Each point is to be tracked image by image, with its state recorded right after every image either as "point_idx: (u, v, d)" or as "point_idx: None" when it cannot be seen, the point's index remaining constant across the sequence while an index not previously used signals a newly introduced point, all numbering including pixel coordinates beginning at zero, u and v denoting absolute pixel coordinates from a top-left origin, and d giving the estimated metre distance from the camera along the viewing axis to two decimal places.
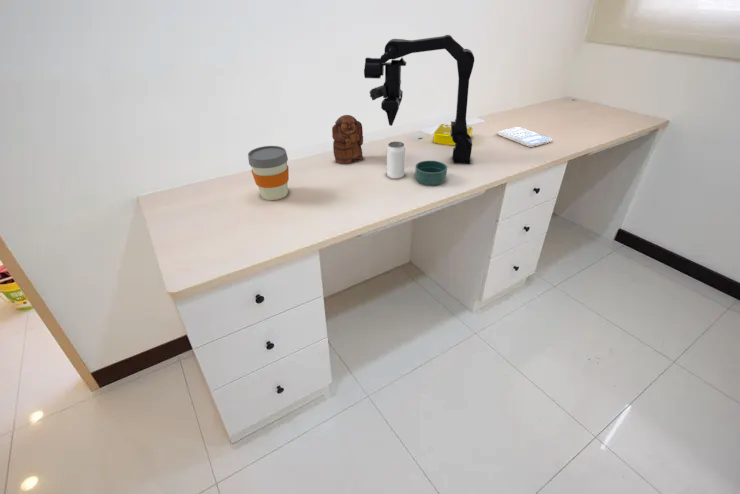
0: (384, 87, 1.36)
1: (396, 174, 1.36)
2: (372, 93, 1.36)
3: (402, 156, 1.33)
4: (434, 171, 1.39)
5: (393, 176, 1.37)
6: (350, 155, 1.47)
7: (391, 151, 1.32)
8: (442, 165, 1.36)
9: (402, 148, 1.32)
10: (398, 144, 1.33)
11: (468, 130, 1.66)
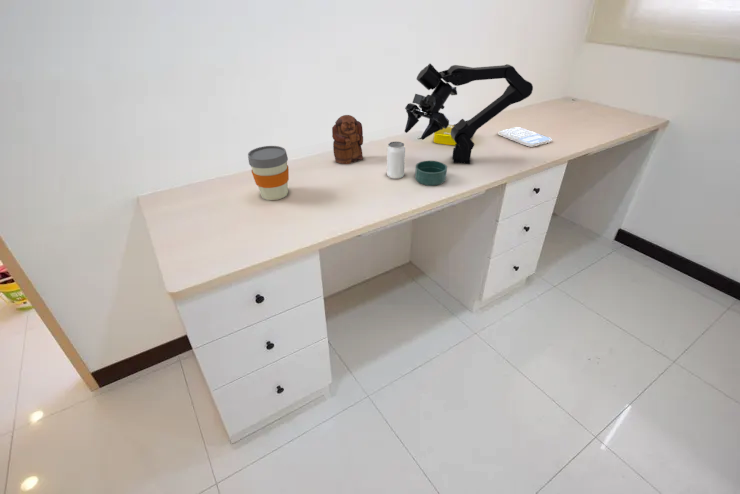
0: (434, 101, 1.31)
1: (396, 174, 1.36)
2: (429, 99, 1.27)
3: (402, 156, 1.33)
4: (434, 171, 1.39)
5: (393, 176, 1.37)
6: (350, 155, 1.47)
7: (391, 151, 1.32)
8: (442, 165, 1.36)
9: (402, 148, 1.32)
10: (398, 144, 1.33)
11: None
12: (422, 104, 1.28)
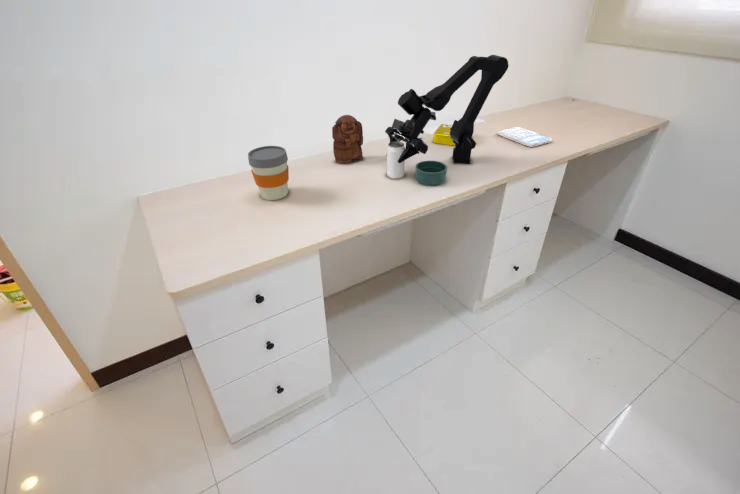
0: (414, 126, 1.30)
1: (396, 174, 1.36)
2: (408, 125, 1.26)
3: None
4: (434, 171, 1.39)
5: (393, 176, 1.37)
6: (350, 155, 1.47)
7: (391, 151, 1.32)
8: (442, 165, 1.36)
9: (402, 148, 1.32)
10: (398, 144, 1.33)
11: None
12: (401, 129, 1.28)
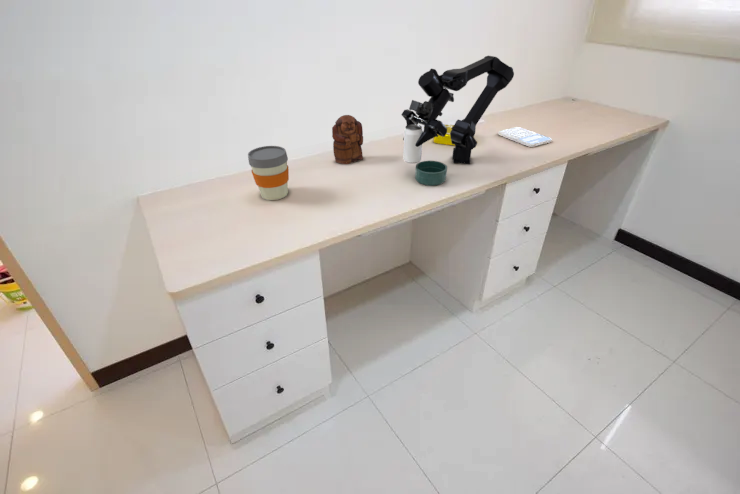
0: (432, 108, 1.25)
1: (413, 159, 1.31)
2: (426, 106, 1.21)
3: None
4: (434, 171, 1.39)
5: (410, 161, 1.32)
6: (350, 155, 1.47)
7: (408, 134, 1.26)
8: (442, 165, 1.36)
9: (420, 131, 1.26)
10: (415, 127, 1.28)
11: None
12: (419, 111, 1.23)
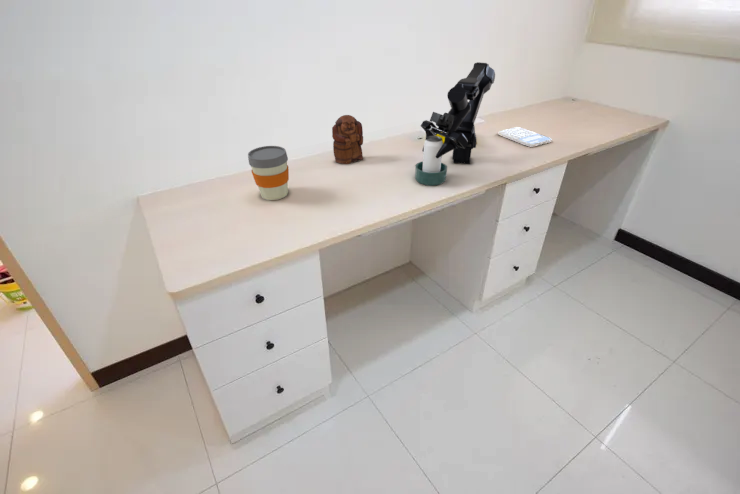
0: (453, 120, 1.25)
1: (433, 170, 1.31)
2: (448, 118, 1.21)
3: None
4: None
5: (429, 172, 1.32)
6: (350, 155, 1.47)
7: (428, 145, 1.26)
8: (442, 165, 1.36)
9: (440, 142, 1.26)
10: (436, 138, 1.28)
11: None
12: (440, 123, 1.23)
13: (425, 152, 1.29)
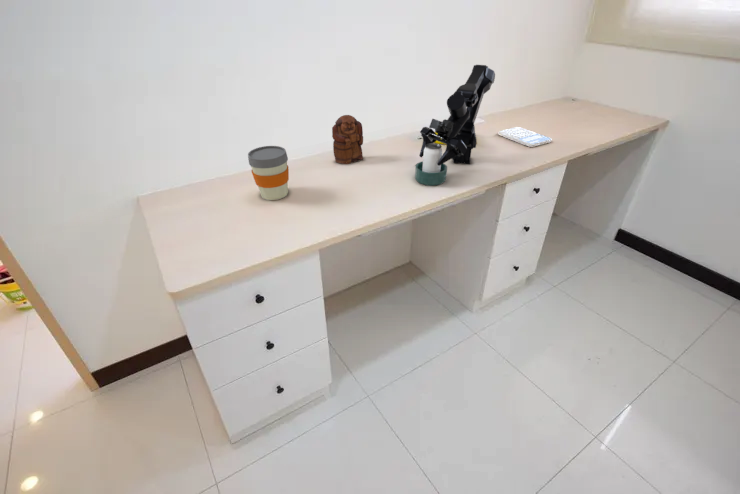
0: (452, 127, 1.26)
1: None
2: (447, 125, 1.22)
3: (439, 158, 1.29)
4: None
5: None
6: (350, 155, 1.47)
7: (428, 153, 1.28)
8: (442, 165, 1.36)
9: (440, 150, 1.28)
10: (435, 146, 1.30)
11: None
12: (440, 130, 1.24)
13: (424, 159, 1.30)
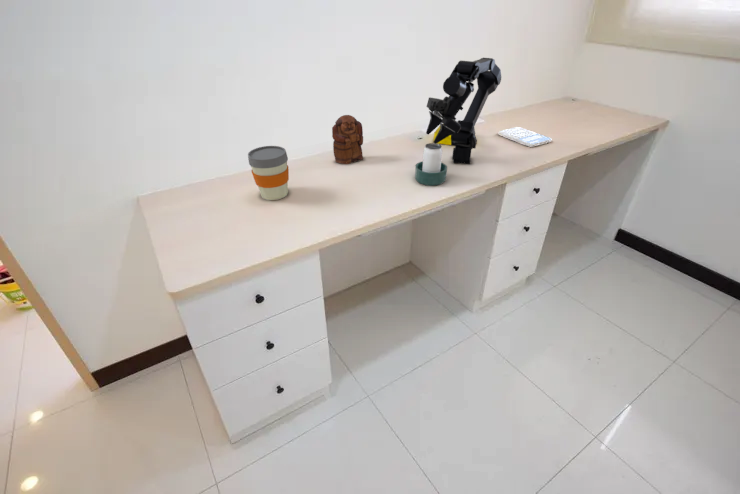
0: (448, 104, 1.27)
1: None
2: (437, 104, 1.25)
3: (439, 158, 1.29)
4: None
5: None
6: (350, 155, 1.47)
7: (428, 153, 1.28)
8: (442, 165, 1.36)
9: (440, 150, 1.28)
10: (435, 146, 1.30)
11: None
12: (432, 109, 1.28)
13: (424, 159, 1.30)
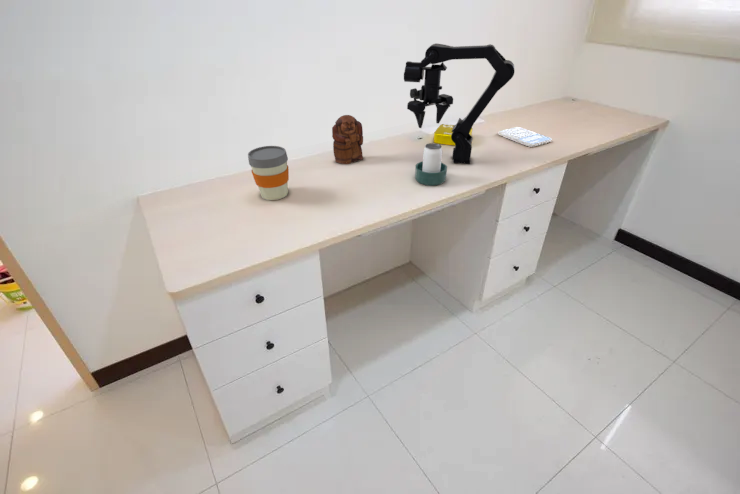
0: (421, 90, 1.39)
1: None
2: (410, 93, 1.42)
3: (439, 158, 1.29)
4: None
5: None
6: (350, 155, 1.47)
7: (428, 153, 1.28)
8: (442, 165, 1.36)
9: (440, 150, 1.28)
10: (435, 146, 1.30)
11: None
12: (414, 99, 1.44)
13: (424, 159, 1.30)
